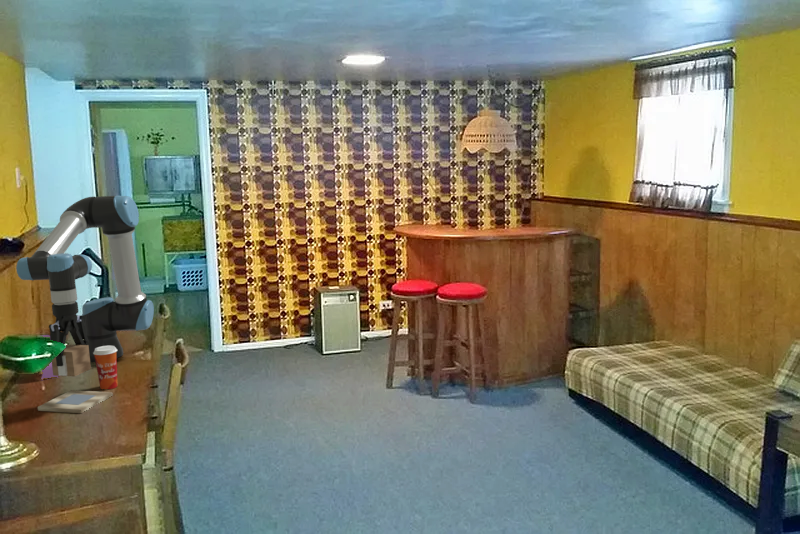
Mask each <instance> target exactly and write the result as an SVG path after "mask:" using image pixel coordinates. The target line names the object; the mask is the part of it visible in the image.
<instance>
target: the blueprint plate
mask: <svg viewBox="0 0 800 534" xmlns="http://www.w3.org/2000/svg"><path fill="white" fill-rule="evenodd" d="M111 396H112V397H113V396H114V394H113V392H111V391H94V390H93V391H92V390H77V389H76V390H75V389H73V390H72V389H70V390H68V391H67V392H65V393H63V394H61V395H58V396H56V397H55V398H52V399H51V400H49V401H46V402H44V403H42V404H41V405H39V406H37V411H38V412H39V411H40V412H56V413H58V412H59V413H70V414H72V413H74V414H82V413H85V412H87V411H88V410H90V409H92V408H94V407H95V406H97V405H99V404H101V403H102V401H103V402H104V401H107V400H108V399H109V397H110V398H111ZM100 402H101V403H100ZM98 403H99V404H98ZM96 404H97V405H96ZM93 406H94V407H93ZM91 407H92V408H91ZM89 408H90V409H89ZM86 410H87V411H86ZM84 411H85V412H84Z"/></svg>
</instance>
